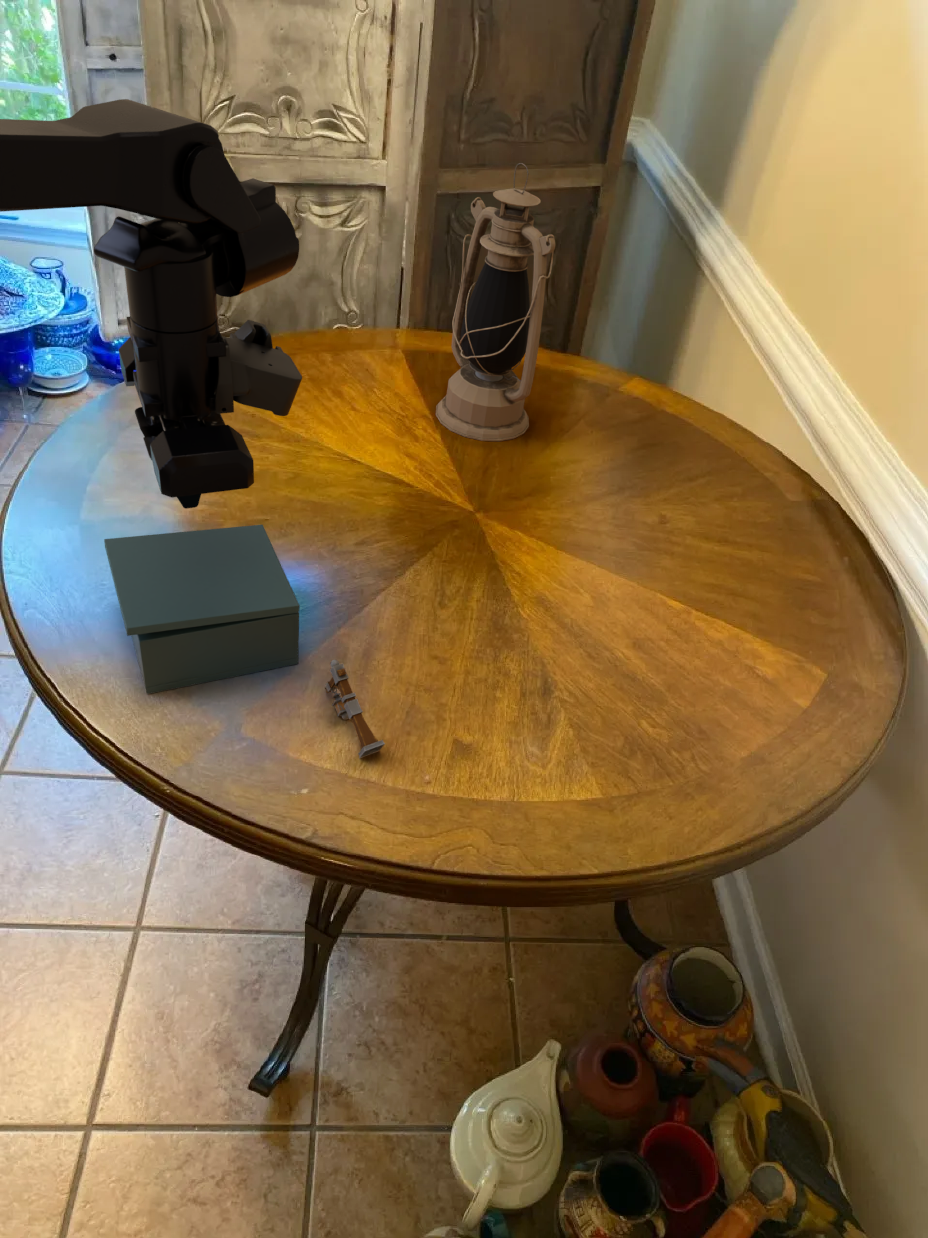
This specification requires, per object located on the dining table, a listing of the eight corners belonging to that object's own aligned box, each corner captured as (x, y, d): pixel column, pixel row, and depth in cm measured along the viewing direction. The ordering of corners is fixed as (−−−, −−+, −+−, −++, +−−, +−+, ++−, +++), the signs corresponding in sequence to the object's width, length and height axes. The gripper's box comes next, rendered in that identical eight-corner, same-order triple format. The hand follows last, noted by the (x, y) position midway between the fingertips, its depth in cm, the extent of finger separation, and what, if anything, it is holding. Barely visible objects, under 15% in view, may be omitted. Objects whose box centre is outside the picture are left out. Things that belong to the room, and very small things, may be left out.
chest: (146, 694, 74) (139, 641, 70) (123, 604, 81) (115, 552, 78) (298, 664, 79) (299, 613, 75) (263, 581, 86) (262, 531, 83)
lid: (127, 636, 69) (126, 628, 69) (104, 546, 77) (104, 538, 76) (299, 612, 75) (299, 605, 74) (262, 531, 82) (262, 524, 82)
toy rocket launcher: (333, 674, 77) (345, 652, 73) (371, 760, 75) (386, 742, 71) (314, 681, 76) (325, 659, 72) (351, 768, 74) (365, 750, 70)
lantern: (410, 400, 117) (436, 145, 97) (481, 382, 123) (518, 140, 104) (482, 454, 109) (526, 189, 90) (554, 432, 116) (609, 180, 96)
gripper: (329, 370, 59) (323, 560, 69) (257, 259, 71) (261, 435, 81) (150, 384, 55) (172, 584, 65) (106, 263, 67) (130, 448, 77)
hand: (190, 505), depth 72 cm, fingers closed
